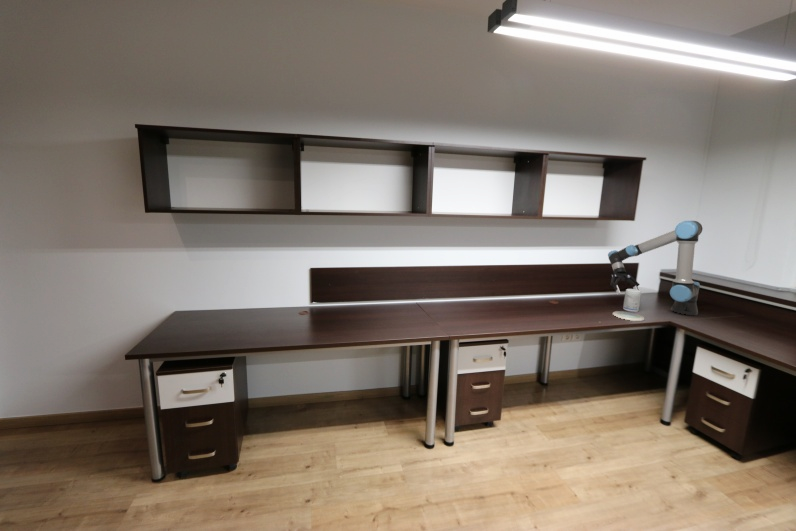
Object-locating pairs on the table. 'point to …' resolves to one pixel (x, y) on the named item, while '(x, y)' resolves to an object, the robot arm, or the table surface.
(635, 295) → the supplement tub
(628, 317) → the ceramic plate
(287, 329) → the table surface
